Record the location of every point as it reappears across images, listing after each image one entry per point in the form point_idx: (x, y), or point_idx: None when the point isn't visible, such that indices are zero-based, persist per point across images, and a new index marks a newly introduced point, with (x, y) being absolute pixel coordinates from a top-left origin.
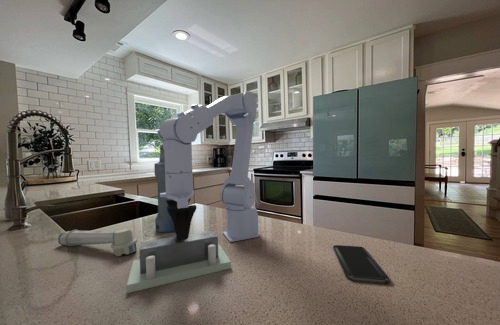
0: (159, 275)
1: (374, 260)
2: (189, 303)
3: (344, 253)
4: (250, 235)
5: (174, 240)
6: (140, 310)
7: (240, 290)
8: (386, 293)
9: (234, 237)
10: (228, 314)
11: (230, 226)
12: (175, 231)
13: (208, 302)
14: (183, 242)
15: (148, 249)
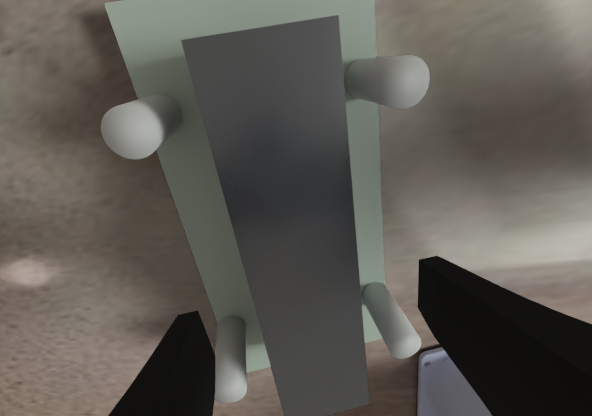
0: (177, 148)
1: None
2: (49, 259)
3: None
4: (430, 410)
5: (293, 252)
6: (3, 104)
7: (111, 377)
8: None
9: (437, 371)
10: (2, 354)
11: (478, 399)
12: (142, 369)
13: (55, 308)
14: (253, 300)
15: (201, 107)
